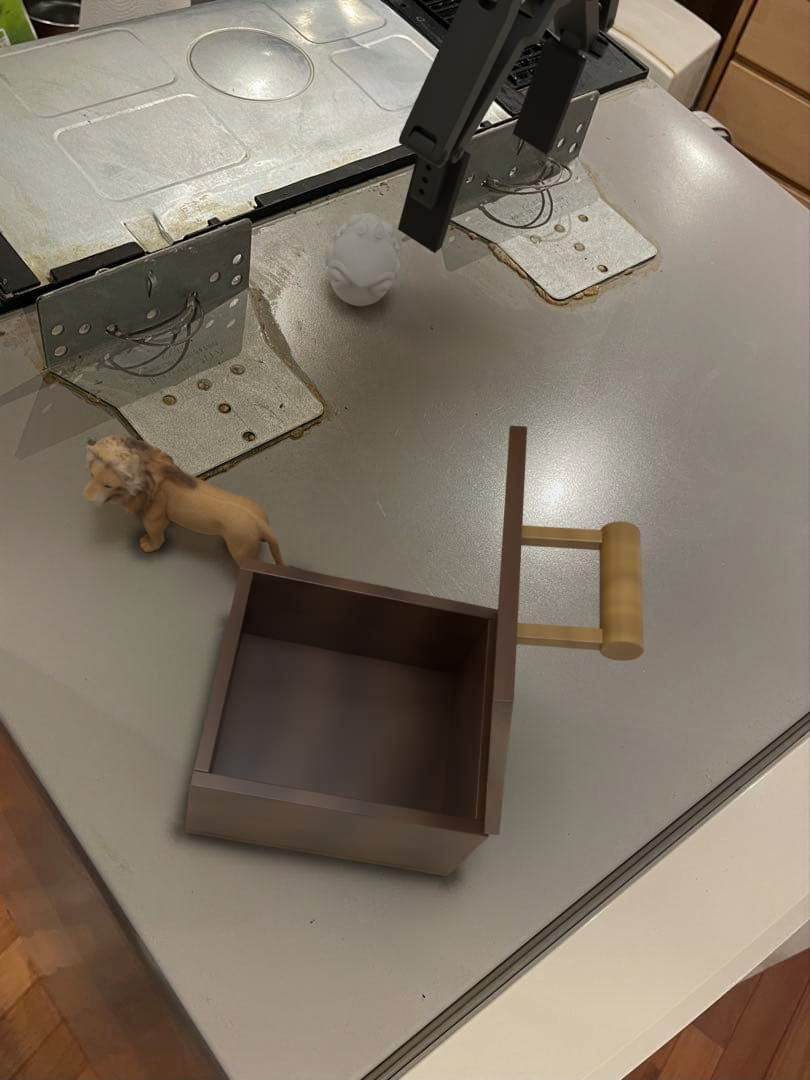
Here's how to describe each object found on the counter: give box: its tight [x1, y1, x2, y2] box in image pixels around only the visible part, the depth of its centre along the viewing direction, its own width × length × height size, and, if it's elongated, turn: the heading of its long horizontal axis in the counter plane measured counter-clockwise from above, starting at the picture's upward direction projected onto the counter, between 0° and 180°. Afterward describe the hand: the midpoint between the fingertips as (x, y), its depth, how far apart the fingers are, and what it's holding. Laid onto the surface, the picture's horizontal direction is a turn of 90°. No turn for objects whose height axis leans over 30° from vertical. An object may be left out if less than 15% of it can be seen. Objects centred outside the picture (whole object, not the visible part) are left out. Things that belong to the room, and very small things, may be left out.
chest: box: [184, 558, 498, 877], centre depth 58 cm, size 16×14×9 cm
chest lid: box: [484, 425, 645, 836], centre depth 48 cm, size 16×14×6 cm
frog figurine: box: [324, 212, 401, 307], centre depth 79 cm, size 6×7×7 cm
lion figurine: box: [83, 433, 304, 570], centre depth 63 cm, size 15×5×9 cm, turn 79°
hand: (478, 187), depth 62 cm, fingers open, 13 cm apart
